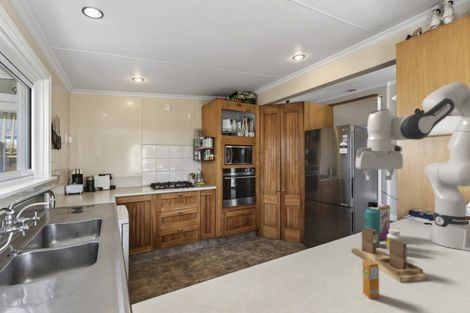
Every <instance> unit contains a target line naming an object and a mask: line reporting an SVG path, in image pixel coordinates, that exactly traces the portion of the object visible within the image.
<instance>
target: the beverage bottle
mask: <svg viewBox="0 0 470 313" xmlns="http://www.w3.org/2000/svg"><path fill="white" fill-rule="evenodd" d="M378 204H379V203H378V202H376V201H368V202H367V207H369V208H366V210H364V228H370V229H374V230H376V234H378V242H376V245H380V243H381V240H380V212H379V211H378V210H377V209H370V207H374V208H377V207H378Z"/></svg>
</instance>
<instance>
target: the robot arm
mask: <svg viewBox="0 0 470 313" xmlns="http://www.w3.org/2000/svg"><path fill="white" fill-rule="evenodd" d="M421 107H422V110H423V112H419V113H414V114H411V115H407V116H402V117H399V116H397V115H395V114H393V113H392V112H391V110H390V109H388V108H385V109H379V110H376V111H372V112H371V113H369V115H368V119H367V129H366V130H367V136H368V137H367V142H366V144H367V145H366V146H367V147H360V148H358V149H357V151H356V157H355V164H354V166H355V168H356V169H357V170H363V171H362V172H363V173H364V174H363V175H365V180H366V181H372V180H373V176H372V175H370V173H371V170H387V175H385V180H386V181H391V180H392V176H393V175H394V173H395V170H401V169H402V168H403V165H404V164H403V163H404V162H403V161H404V159H403V158H404V157H403V154H402V152H403V147H402V146H400V145H398V144H395V143H393V142H392V141H408V140H413V141H414V140H423V139H425V138H427V137H428V136H429V135H430V134H431V132H432V130H433V129H434V128H435V127H436V126H437V125H438V124H439V123H441V121H443V120H444V119H445V118H447V117H460V120H459V122H458V123H457V125H456V127H455V128H454V130H453V132H452V134H451V136H450V138H449V141H448V143H447V144H446V150H447V151H448V152H449V156H448V160H447V161H434V162H431V163H428V164H427V165H425V168H424V171H423V172H424V176H425V177H426V179H427V180H428V181H429V183H430V185H431V189H432V191H433V195H434V196H433V197H434V211H433V214H432V218H433V221H432V224H431V230H430V234H429V235H428V238H429V241H430V242H432V243H433V244H436V245H439V246H441V247H447V248H451V249H458V250H463V251H467V252H470V215H467V199H466V197H465V196H464V195H463V194H462V192H461V190H460V189H459V187H470V87H469V86H468V85H467V84H466V83H464V82H461V81H455V82H451V83H448V84H446V85H443V86H441V87H439V88H437V89H436V90H434V91H432V92H431V93H429V94H428V95H427V96H426V97H425V98H424V99H423V100H422V104H421Z"/></svg>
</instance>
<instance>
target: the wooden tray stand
mask: <svg viewBox="0 0 470 313" xmlns="http://www.w3.org/2000/svg"><path fill="white" fill-rule="evenodd" d="M376 242H378V234H376V230H374V229H370V228H365V227H364V228H362V229H361V247H360V248H359V247H356V248H351V253H352V254H354V255H356V256H357V257H359V258H360V259H362V261H363V260H373V261H374V262H376V263H378V265H379V271H381V272H383V273H384V274H386V275H388V276H389V277H391V278H393V279H395V280H396V281H397V282H399V283H406V282H414V281H415V282H416V281H417V282H418V281H427V280H429V274H428V273H425V272H424V269H423V268H421V267H419V266H417V265H415V264H412V263H411V262H409V261H407V260H406V268H405V269H402V270H398V269H395V268H393V267H391V266H390V254H389V253H388V252H385V251H382V250H380V249H378V248H377V244H376Z"/></svg>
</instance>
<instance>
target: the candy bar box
mask: <svg viewBox="0 0 470 313" xmlns="http://www.w3.org/2000/svg"><path fill="white" fill-rule="evenodd" d="M369 209H377V210H378V211H379V212H380V241H381V240H384V239H387V234H389V229H391V228H390V227H391V226H390V225H391V221H390V220H391V205H388V204H384V203H378V207H377V208H374V207H369Z"/></svg>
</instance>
